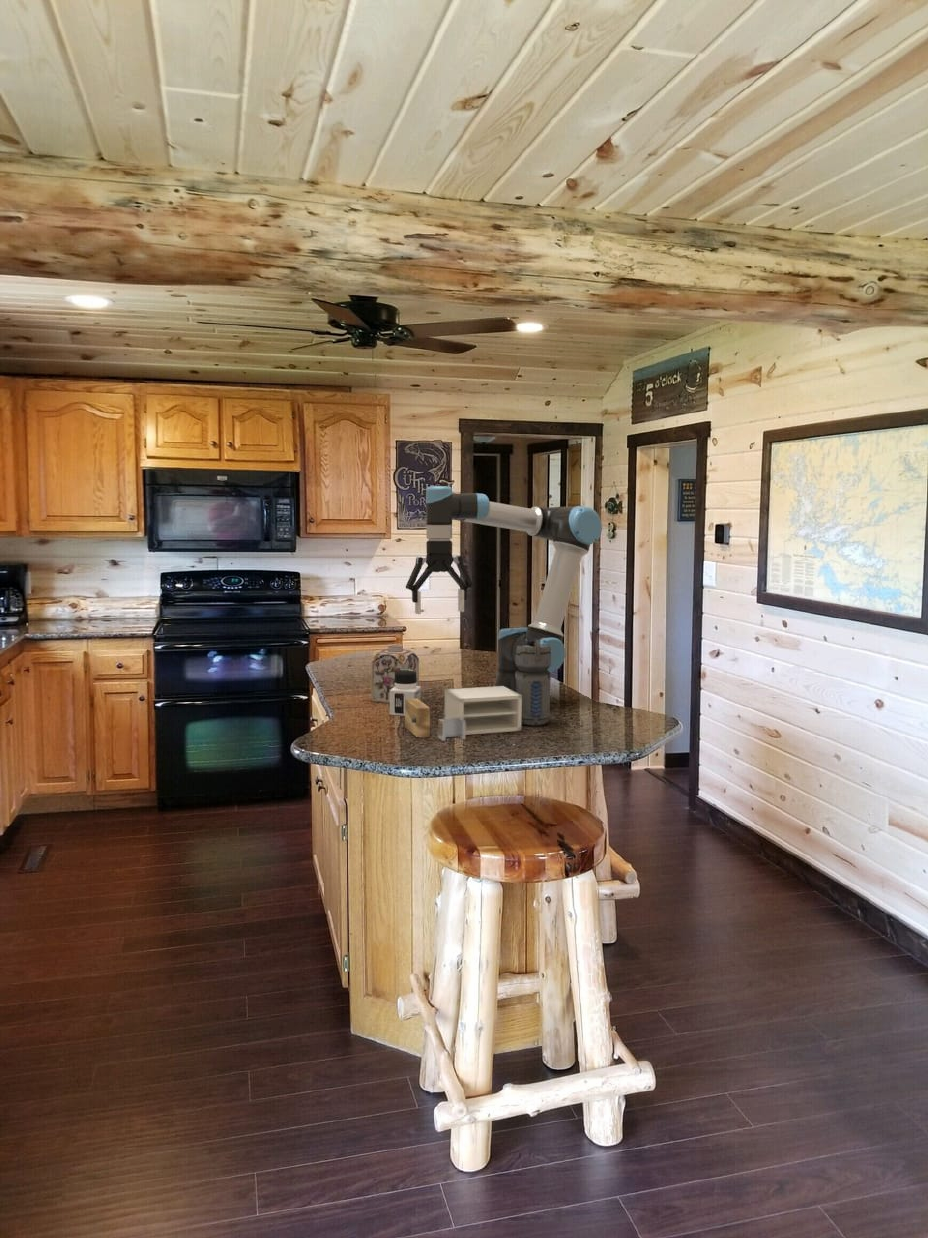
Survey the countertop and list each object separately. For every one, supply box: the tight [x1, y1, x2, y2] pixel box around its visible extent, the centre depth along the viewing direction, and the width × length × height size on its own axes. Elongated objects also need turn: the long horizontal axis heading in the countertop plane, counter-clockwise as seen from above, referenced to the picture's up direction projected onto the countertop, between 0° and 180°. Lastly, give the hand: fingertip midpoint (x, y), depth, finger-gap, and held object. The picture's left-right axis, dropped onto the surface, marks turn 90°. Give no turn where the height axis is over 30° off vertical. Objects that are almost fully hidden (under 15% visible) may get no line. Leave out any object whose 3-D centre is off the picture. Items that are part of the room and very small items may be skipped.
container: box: [389, 670, 422, 717], centre depth 258 cm, size 8×8×13 cm
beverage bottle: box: [515, 636, 552, 727], centre depth 248 cm, size 10×13×25 cm
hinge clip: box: [437, 718, 466, 742], centre depth 229 cm, size 6×4×5 cm, turn 109°
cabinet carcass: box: [443, 686, 522, 736], centre depth 242 cm, size 18×14×10 cm
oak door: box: [404, 699, 431, 738], centre depth 235 cm, size 4×12×8 cm, turn 19°
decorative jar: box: [371, 643, 420, 704], centre depth 276 cm, size 12×12×18 cm
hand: (439, 612), depth 252 cm, fingers open, 13 cm apart
